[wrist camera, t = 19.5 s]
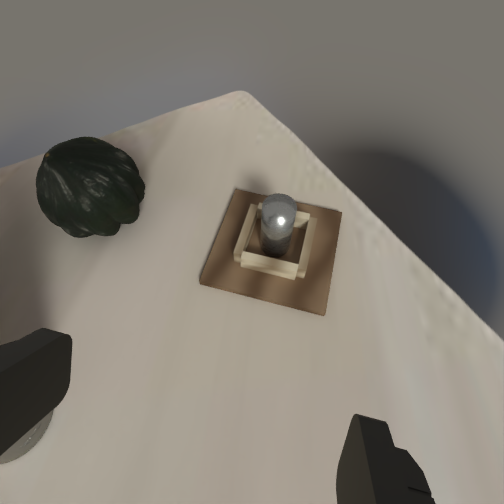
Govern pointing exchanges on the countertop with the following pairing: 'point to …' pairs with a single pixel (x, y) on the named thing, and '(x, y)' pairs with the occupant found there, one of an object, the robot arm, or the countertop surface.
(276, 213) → the steel cylinder
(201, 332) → the countertop surface
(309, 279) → the socket board
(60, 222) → the squash
